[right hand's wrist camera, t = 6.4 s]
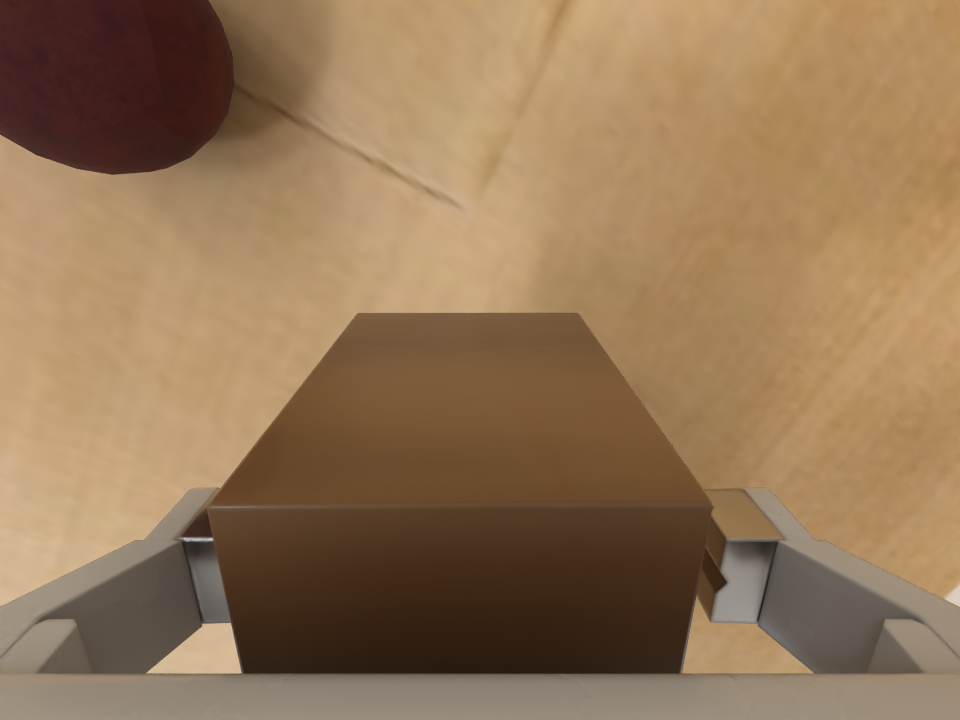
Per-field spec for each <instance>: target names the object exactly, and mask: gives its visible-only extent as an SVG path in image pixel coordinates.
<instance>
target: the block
mask: <svg viewBox="0 0 960 720" xmlns="http://www.w3.org/2000/svg"><path fill="white" fill-rule="evenodd" d="M712 509H713V505H712V502H711V500H710V499H709V497H708V496H707V494H706V493H705V492H704V490H703V489H702V487H701V486H700V484H699V483H698V482H697V480H696V479H695V477H694V476H693V475H692V473H691V472H690V470H689V469H688V468H687V466H686V465H685V463H684V462H683V460H682V459H681V458H680V456H679V455H678V453H677V452H676V451H675V449H674V448H673V446H672V445H671V443H670V442H669V441H668V439H667V438H666V436H665V435H664V434H663V432H662V431H661V429H660V428H659V427H658V425H657V424H656V422H655V421H654V419H653V418H652V417H651V415H650V414H649V412H648V411H647V410H646V408H645V407H644V405H643V404H642V403H641V401H640V400H639V398H638V397H637V395H636V394H635V393H634V391H633V390H632V388H631V387H630V386H629V384H628V383H627V381H626V380H625V378H624V377H623V376H622V374H621V373H620V371H619V370H618V369H617V367H616V366H615V364H614V363H613V362H612V360H611V359H610V357H609V356H608V354H607V353H606V352H605V350H604V349H603V347H602V346H601V345H600V343H599V342H598V340H597V339H596V337H595V336H594V335H593V333H592V332H591V330H590V329H589V328H588V326H587V325H586V323H585V322H584V321H583V319H582V318H581V316H580V315H579V314H578V313H358V314H357V315H356V316H355V317H354V319H353V320H352V321H351V322H350V324H349V325H348V326H347V327H346V329H345V330H344V331H343V333H342V334H341V335H340V336H339V338H338V339H337V340H336V342H335V343H334V344H333V345H332V347H331V348H330V349H329V350H328V352H327V353H326V354H325V356H324V357H323V358H322V359H321V361H320V362H319V363H318V365H317V366H316V367H315V368H314V370H313V371H312V372H311V374H310V375H309V376H308V377H307V379H306V380H305V381H304V382H303V384H302V385H301V386H300V388H299V389H298V390H297V391H296V393H295V394H294V395H293V397H292V398H291V399H290V400H289V402H288V403H287V404H286V405H285V407H284V408H283V409H282V411H281V412H280V413H279V414H278V416H277V417H276V418H275V420H274V421H273V422H272V423H271V425H270V426H269V427H268V428H267V430H266V431H265V432H264V434H263V435H262V436H261V437H260V439H259V440H258V441H257V443H256V444H255V445H254V446H253V448H252V449H251V450H250V452H249V453H248V454H247V455H246V457H245V458H244V459H243V460H242V462H241V463H240V464H239V466H238V467H237V468H236V469H235V471H234V472H233V473H232V475H231V476H230V477H229V478H228V480H227V481H226V482H225V483H224V485H223V486H222V487H221V489H220V490H219V491H218V492H217V494H216V495H215V496H214V498H213V499H212V500H211V501H210V503H209V504H208V507H207V512H208V517H209V522H210V526H211V531H212V536H213V540H214V545H215V550H216V555H217V559H218V564H219V569H220V573H221V578H222V583H223V587H224V592H225V597H226V601H227V606H228V611H229V615H230V620H231V625H232V629H233V634H234V639H235V644H236V648H237V653H238V658H239V662H240V667H241V672H242V674H682V670H683V664H684V659H685V654H686V648H687V643H688V638H689V632H690V627H691V621H692V616H693V611H694V605H695V600H696V595H697V589H698V584H699V578H700V573H701V568H702V562H703V557H704V552H705V546H706V541H707V535H708V530H709V525H710V519H711V514H712Z"/></svg>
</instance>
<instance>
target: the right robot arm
mask: <svg viewBox="0 0 960 720" xmlns="http://www.w3.org/2000/svg"><path fill="white" fill-rule="evenodd" d="M220 489H221V488H194V489H191V490H189V491H188V492H187V493H186V494H185V495H184V497H183V498H182V499H181V500H180V501H179V502H178V503H177V504H176V505H175V507H174V508H173V509H172V510H171V511H170V512H169V513H168V514H167V515H166V516H165V518H164V519H163V520H162V521H161V522H160V523H159V524H158V525H157V526H156V527H155V529H154V530H153V531H152V532H151V533H150V534H149V535H148V536H147V537H146V538H145V540H135V541H133V542H131V543H129V544H127V545H125V546H123V547H121V548H119V549H117V550H115V551H113V552H111V553H109V554H107V555H105V556H103V557H101V558H99V559H97V560H95V561H92V562H90V563H88V564H86V565H84V566H82V567H80V568H78V569H76V570H74V571H72V572H70V573H68V574H66V575H64V576H62V577H60V578H58V579H56V580H54V581H52V582H50V583H48V584H46V585H44V586H42V587H40V588H38V589H36V590H34V591H32V592H30V593H27V594H25V595H23V596H21V597H19V598H17V599H15V600H13V601H11V602H9V603H7V604H5V605H3V606H1V607H0V720H960V607H959V606H957V605H954V604H952V603H950V602H948V601H946V600H944V599H942V598H940V597H938V596H936V595H934V594H932V593H930V592H928V591H926V590H924V589H922V588H920V587H918V586H916V585H914V584H912V583H910V582H908V581H906V580H904V579H902V578H900V577H898V576H896V575H894V574H892V573H890V572H888V571H886V570H884V569H882V568H880V567H878V566H876V565H873V564H871V563H869V562H867V561H865V560H863V559H861V558H859V557H857V556H855V555H853V554H851V553H849V552H847V551H845V550H843V549H841V548H839V547H837V546H835V545H833V544H831V543H829V542H827V541H825V540H815V538H814V537H813V536H812V535H811V534H810V533H809V532H808V531H807V530H806V529H805V527H804V526H803V525H802V524H801V523H800V522H799V521H798V520H797V519H796V518H795V516H794V515H793V514H792V513H791V512H790V511H789V510H788V509H787V508H786V506H785V505H784V504H783V503H782V502H781V501H780V500H779V499H778V498H777V497H776V495H775V494H774V493H773V492H772V491H771V490H769V489H767V488H765V487H759V488H739V489H703V490H704V492H705V493H706V494H707V496H708V497H709V499H710V500H711V502H712V505H713V509H712V514H711V519H710V525H709V530H708V535H707V541H706V546H705V552H704V557H703V562H702V568H701V573H700V578H699V584H698V589H697V597H698V599H699V601H700V603H701V605H702V607H703V609H704V611H705V613H706V615H707V617H708V619H709V620H710V622H720V623H755V624H758V626H759V627H760V628H761V629H762V630H763V631H765V632H766V633H767V634H768V635H769V636H771V637H772V638H773V639H774V640H775V641H777V642H778V643H779V644H780V645H781V646H783V647H784V648H785V649H786V650H787V651H789V652H790V653H791V654H792V655H793V656H795V657H796V658H797V659H798V660H799V661H801V662H802V663H803V664H804V665H805V666H807V667H808V668H809V669H810V670H811V671H813V672H814V673H815V674H145V673H146V672H148V671H149V670H150V669H151V668H152V667H154V666H155V665H156V664H157V663H158V662H160V661H161V660H162V659H163V658H164V657H166V656H167V655H168V654H169V653H170V652H172V651H173V650H174V649H175V648H176V647H178V646H179V645H180V644H181V643H182V642H184V641H185V640H186V639H187V638H188V637H190V636H191V635H192V634H193V633H194V632H196V631H197V630H198V629H199V628H200V627H202V624H205V623H231V620H230V615H229V611H228V606H227V601H226V597H225V592H224V587H223V583H222V578H221V573H220V569H219V564H218V559H217V555H216V550H215V545H214V540H213V536H212V531H211V526H210V522H209V517H208V512H207V507H208V504H209V503H210V501H211V500H212V499H213V498H214V496H215V495H216V494H217V492H218V491H219V490H220Z"/></svg>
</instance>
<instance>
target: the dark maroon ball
mask: <svg viewBox="0 0 960 720" xmlns="http://www.w3.org/2000/svg"><path fill="white" fill-rule="evenodd" d="M233 88H234V74H233V57H232V53H231V50H230V47H229V44H228V41H227V38H226V35H225V32H224V29H223V26H222V23H221V21H220V20H219V18H218V16H217V15H216V13H215V11H214V9H213V8H212V6H211V4H210V3H209V1H208V0H0V135H2V136H4V137H6V138H7V139H9V140H11V141H13V142H15V143H16V144H18V145H20V146H22V147H23V148H25V149H27V150H29V151H30V152H32V153H34V154H36V155H38V156H41V157H44V158H47V159H50V160H53V161H56V162H59V163H62V164H65V165H68V166H71V167H74V168H76V169H82V170H88V171H94V172H100V173H106V174H112V175H114V174H127V173H140V172H151V171H156V170H161V169H165V168H168V167H170V166H173V165H175V164H177V163H179V162H182V161H184V160H186V159H188V158H190V157H191V156H193V155H194V154H195V153H196V152H197V151H198V150H199V149H200V148H201V147H202V146H203V145H204V144H206V143H207V142H208V141H209V140H210V139H211V138H212V137H213V136H214V135H215V134H216V132H217V130H218V129H219V127H220V125H221V123H222V122H223V120H224V118H225V117H226V115H227V113H228V109H229V105H230V100H231V96H232V92H233Z"/></svg>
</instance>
